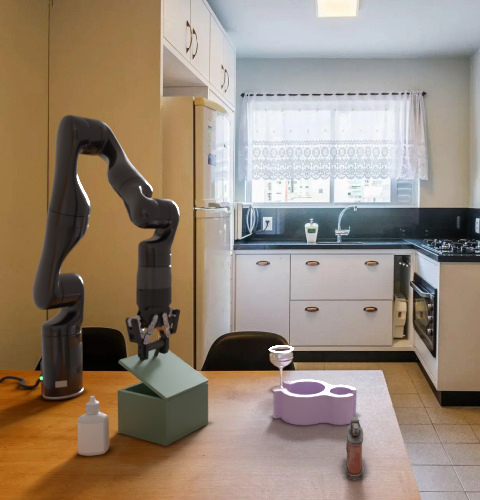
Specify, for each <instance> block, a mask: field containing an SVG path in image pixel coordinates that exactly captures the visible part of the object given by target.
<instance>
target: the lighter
mask: <svg viewBox="0 0 480 500" xmlns="http://www.w3.org/2000/svg"><path fill="white" fill-rule="evenodd" d="M345 434H346V435H345V437H346V440H345V442H346V443H345V451H346V459H345V473H346V476H347V478H348V479H350V480H355V481H356V480H359V479H361V478H362V475H363V461H362V460H363V459H362V458H363V442H364V430H363V427H362V426H361V423H360V419H359V418H358V416H355V417H352V419H351V423H350V424H348V425H347V428H346V433H345Z"/></svg>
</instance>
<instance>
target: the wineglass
mask: <svg viewBox="0 0 480 500" xmlns="http://www.w3.org/2000/svg"><path fill="white" fill-rule="evenodd" d="M293 350H294V347H292V346H289V345H275V346H272V347H270V348H269V354H268V358H269V362H270V363H271V364H272V365H273V366H275V367H277V368H278V369H279V386H276V387H274V388H272V389H271V391H272V392H273V390H275V389H281V388H283V369H284V368H285V367H286V366H288V365H290V364H291V363H292V361H293V359H294V353H293Z"/></svg>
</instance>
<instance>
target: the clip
mask: <svg viewBox="0 0 480 500" xmlns="http://www.w3.org/2000/svg"><path fill="white" fill-rule="evenodd" d="M282 387H283V388H281V389H275V390H273V391H272V392H273V395H272V397H273V399H272V401H273V402H272V405H273V406H272V418H273V419H281V420H283V421H284V422H285V423H288V424H291V425H298V426H310V425H311V426H312V425H316V424H322V423H323V424H324V423H325V424H326V423H327V424H330V425H335V426H343V425H344V426H345V425H351V419H352V417H357V388H356V387H354V386H351V385H347V384H346V385H345V384H331V383H327V382H326V381H322V380H318V379H297V380H292V381H289V380H282Z"/></svg>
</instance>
